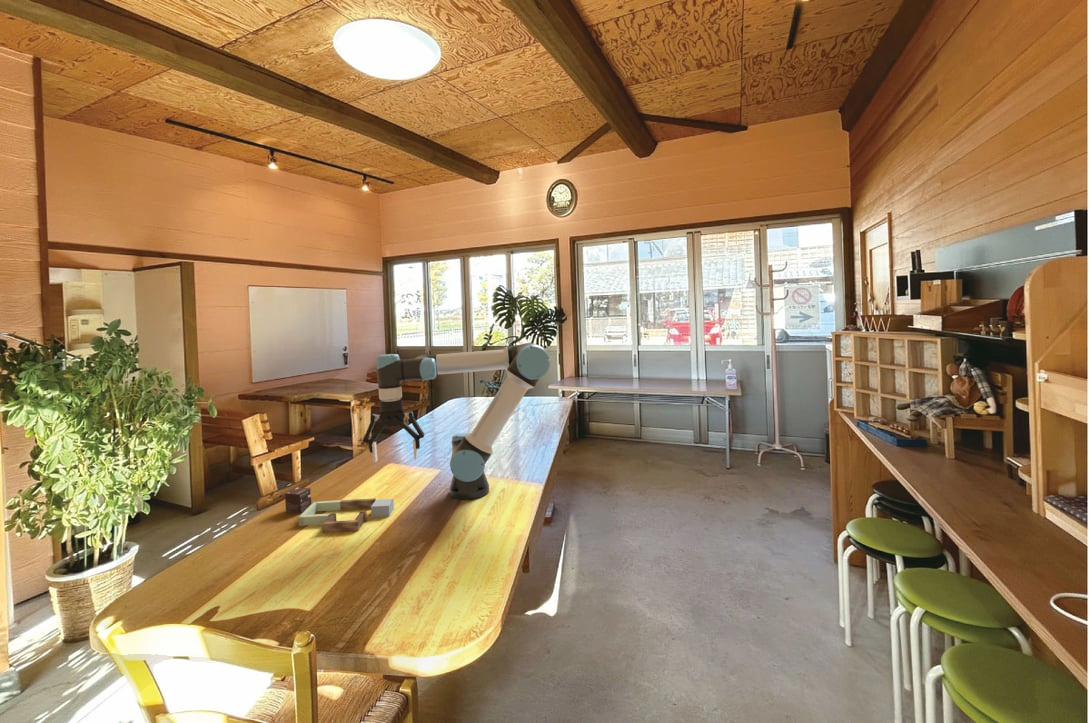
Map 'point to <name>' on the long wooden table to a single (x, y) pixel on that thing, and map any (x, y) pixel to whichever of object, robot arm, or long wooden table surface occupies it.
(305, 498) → the box
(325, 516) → the bay
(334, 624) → the long wooden table surface
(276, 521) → the long wooden table surface
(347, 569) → the long wooden table surface
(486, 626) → the long wooden table surface
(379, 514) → the grey square block
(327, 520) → the open corridor walls
